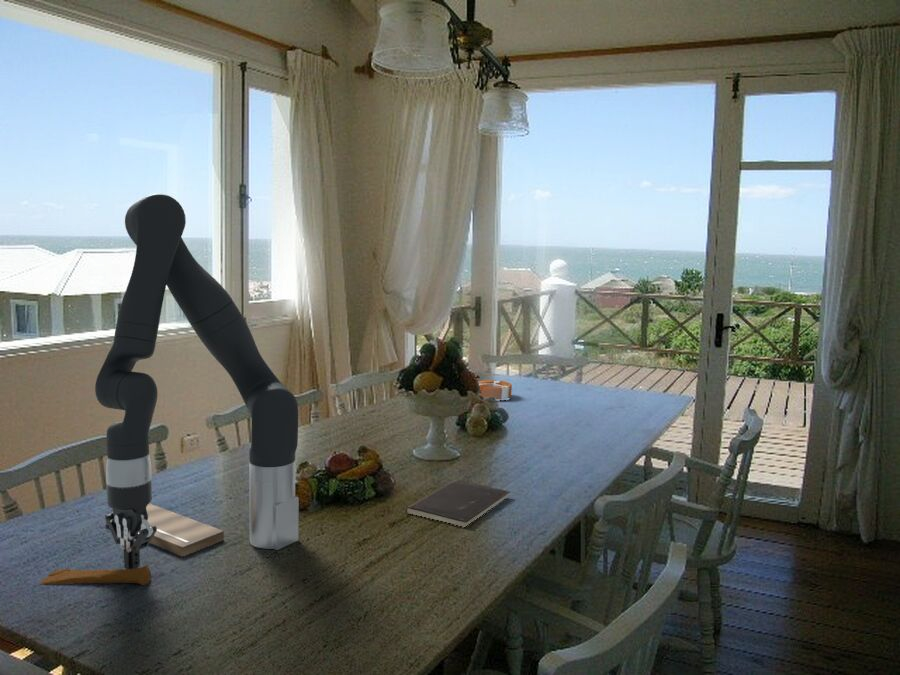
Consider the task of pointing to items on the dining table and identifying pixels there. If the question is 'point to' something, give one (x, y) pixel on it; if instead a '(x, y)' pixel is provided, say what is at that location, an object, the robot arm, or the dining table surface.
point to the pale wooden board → (180, 532)
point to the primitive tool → (99, 576)
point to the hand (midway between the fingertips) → (131, 568)
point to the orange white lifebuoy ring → (495, 389)
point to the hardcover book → (458, 502)
